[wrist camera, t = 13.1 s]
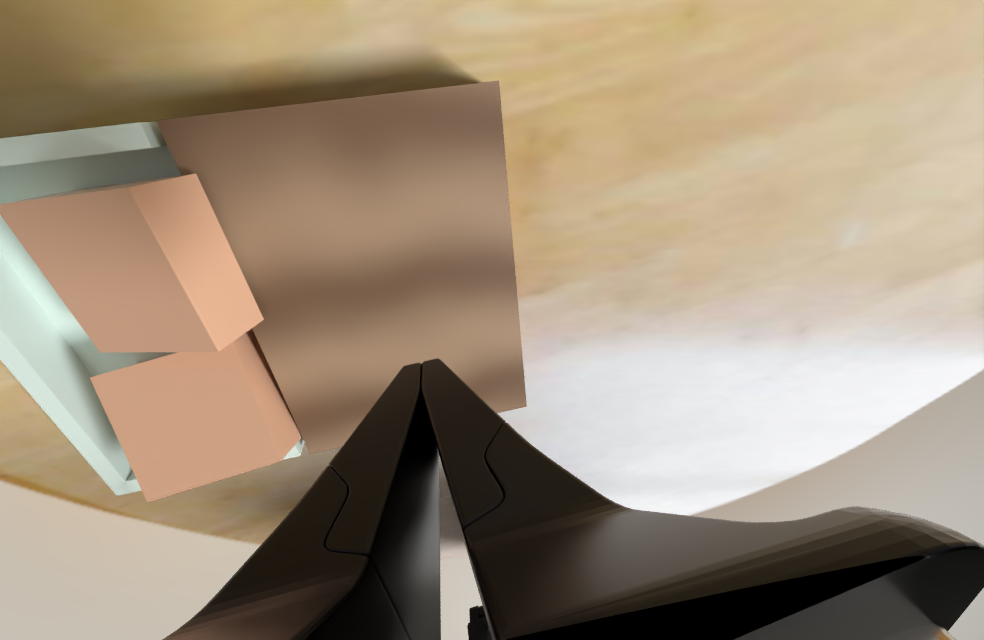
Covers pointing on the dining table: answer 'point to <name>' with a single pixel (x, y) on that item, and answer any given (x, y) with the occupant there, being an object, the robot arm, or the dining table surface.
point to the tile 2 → (197, 416)
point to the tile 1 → (139, 264)
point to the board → (367, 243)
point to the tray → (36, 305)
